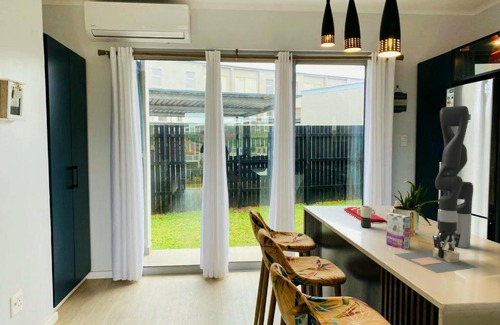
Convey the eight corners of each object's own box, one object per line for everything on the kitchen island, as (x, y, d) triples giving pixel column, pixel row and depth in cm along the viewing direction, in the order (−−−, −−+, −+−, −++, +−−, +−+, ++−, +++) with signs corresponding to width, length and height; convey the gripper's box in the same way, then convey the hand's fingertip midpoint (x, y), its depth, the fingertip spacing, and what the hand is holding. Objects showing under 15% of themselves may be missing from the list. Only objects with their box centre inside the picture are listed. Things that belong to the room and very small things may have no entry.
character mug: (373, 226, 214) (374, 205, 213) (376, 228, 207) (376, 208, 206) (355, 225, 215) (356, 205, 214) (357, 228, 208) (358, 207, 207)
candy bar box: (410, 249, 167) (411, 216, 166) (403, 250, 165) (404, 217, 164) (392, 243, 177) (393, 212, 176) (385, 244, 175) (386, 213, 174)
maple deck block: (433, 255, 154) (433, 248, 154) (441, 254, 156) (442, 247, 156) (450, 262, 146) (450, 254, 146) (459, 261, 147) (459, 253, 147)
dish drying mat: (364, 223, 222) (364, 218, 222) (343, 211, 263) (343, 206, 263) (387, 223, 223) (387, 218, 223) (362, 211, 264) (362, 206, 264)
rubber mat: (394, 255, 157) (394, 253, 157) (430, 251, 163) (430, 249, 163) (437, 274, 134) (437, 272, 134) (477, 268, 141) (477, 266, 141)
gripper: (452, 216, 156) (450, 252, 157) (427, 218, 151) (426, 255, 152) (467, 220, 148) (465, 258, 149) (442, 222, 144) (440, 261, 145)
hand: (445, 256), depth 151 cm, fingers closed on maple deck block, 5 cm apart
